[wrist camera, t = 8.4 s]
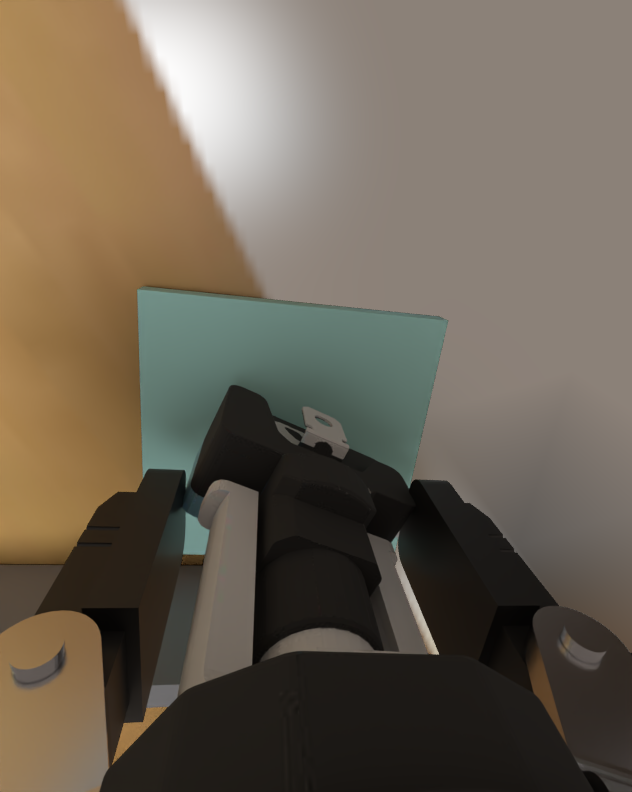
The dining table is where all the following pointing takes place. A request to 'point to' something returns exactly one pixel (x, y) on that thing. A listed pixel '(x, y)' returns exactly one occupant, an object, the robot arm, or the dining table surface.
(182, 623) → the case
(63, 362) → the dining table surface
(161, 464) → the pad
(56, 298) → the dining table surface
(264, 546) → the push button
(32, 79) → the dining table surface
